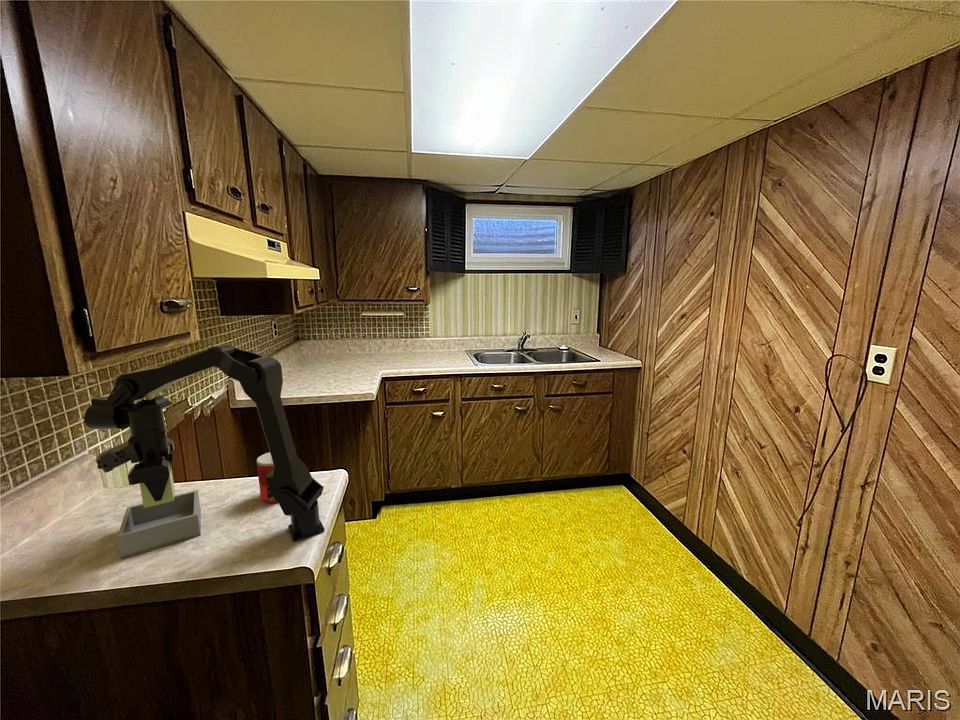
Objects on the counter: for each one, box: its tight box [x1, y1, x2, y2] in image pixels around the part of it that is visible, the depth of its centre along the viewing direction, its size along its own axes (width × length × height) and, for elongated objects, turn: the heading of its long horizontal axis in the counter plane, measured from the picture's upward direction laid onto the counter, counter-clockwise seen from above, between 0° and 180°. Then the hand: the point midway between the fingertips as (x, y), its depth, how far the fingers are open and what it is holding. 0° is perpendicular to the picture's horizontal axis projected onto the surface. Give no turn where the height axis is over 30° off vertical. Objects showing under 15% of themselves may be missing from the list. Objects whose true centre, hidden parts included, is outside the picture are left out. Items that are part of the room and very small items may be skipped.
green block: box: [139, 466, 176, 508], centre depth 84 cm, size 5×5×6 cm
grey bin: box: [116, 489, 202, 560], centre depth 86 cm, size 13×13×5 cm
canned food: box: [256, 451, 278, 504], centre depth 100 cm, size 8×8×11 cm
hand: (159, 495), depth 85 cm, fingers closed on green block, 5 cm apart
